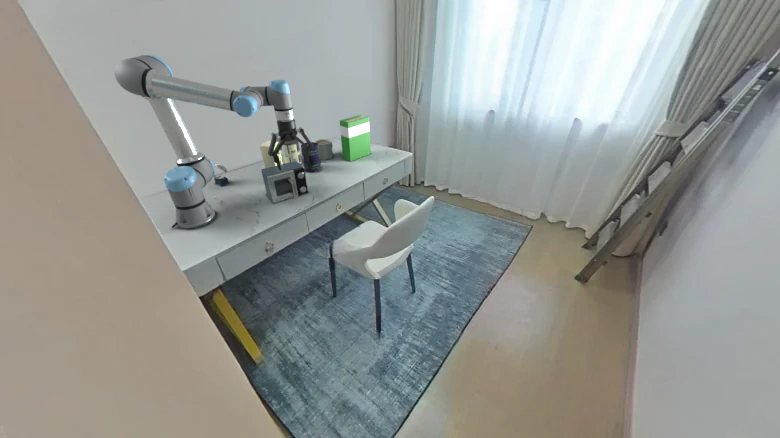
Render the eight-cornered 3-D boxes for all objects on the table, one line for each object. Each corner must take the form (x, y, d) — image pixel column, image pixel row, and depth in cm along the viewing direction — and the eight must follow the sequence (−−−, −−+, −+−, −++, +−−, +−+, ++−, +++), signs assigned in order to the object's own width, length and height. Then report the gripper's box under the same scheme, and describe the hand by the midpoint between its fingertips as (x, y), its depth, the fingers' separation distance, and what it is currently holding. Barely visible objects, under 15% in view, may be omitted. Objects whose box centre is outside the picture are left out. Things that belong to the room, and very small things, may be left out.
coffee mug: (325, 161, 198) (323, 145, 193) (314, 157, 203) (312, 142, 198) (339, 154, 207) (338, 139, 202) (328, 151, 212) (327, 136, 207)
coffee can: (293, 158, 202) (289, 136, 194) (305, 161, 197) (301, 139, 190) (281, 163, 195) (276, 141, 187) (292, 167, 190) (288, 144, 182)
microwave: (308, 193, 163) (304, 168, 155) (274, 203, 154) (268, 177, 147) (300, 185, 171) (296, 161, 163) (266, 194, 162) (260, 169, 154)
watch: (232, 181, 174) (226, 163, 168) (218, 187, 168) (212, 168, 162) (225, 179, 176) (220, 160, 170) (212, 184, 171) (206, 165, 165)
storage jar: (315, 173, 183) (311, 149, 174) (301, 171, 186) (296, 146, 177) (324, 167, 190) (321, 143, 182) (310, 164, 193) (307, 141, 185)
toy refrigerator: (280, 183, 172) (272, 146, 161) (267, 182, 173) (259, 145, 162) (286, 177, 179) (279, 141, 167) (274, 176, 180) (267, 140, 168)
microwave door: (303, 201, 156) (299, 175, 149) (278, 208, 150) (272, 182, 143) (297, 194, 162) (292, 169, 154) (272, 201, 156) (266, 176, 148)
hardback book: (362, 150, 213) (361, 114, 200) (370, 153, 209) (369, 116, 196) (342, 158, 202) (339, 120, 189) (350, 161, 198) (347, 123, 185)
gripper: (258, 126, 127) (269, 175, 138) (316, 116, 139) (322, 161, 150) (253, 122, 132) (264, 169, 144) (309, 113, 144) (315, 156, 156)
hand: (294, 165), depth 147 cm, fingers open, 13 cm apart
